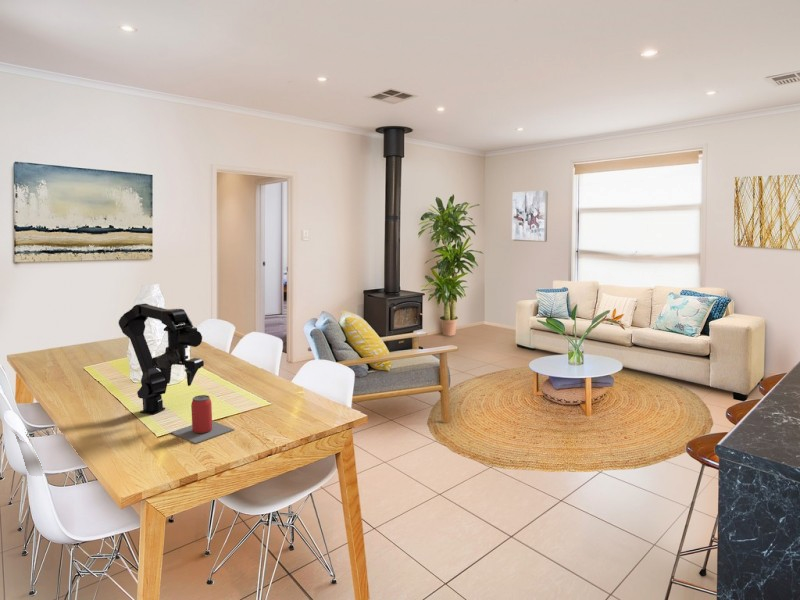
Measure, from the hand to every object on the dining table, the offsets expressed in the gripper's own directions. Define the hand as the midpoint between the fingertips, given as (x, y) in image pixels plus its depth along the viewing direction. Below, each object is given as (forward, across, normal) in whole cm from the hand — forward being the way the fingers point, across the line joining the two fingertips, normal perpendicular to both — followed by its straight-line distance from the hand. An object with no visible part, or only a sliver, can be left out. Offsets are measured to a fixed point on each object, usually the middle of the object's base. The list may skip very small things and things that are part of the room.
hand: (178, 384), depth 191 cm
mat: (+13, +16, -8) cm, 22 cm away
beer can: (+13, +16, -8) cm, 22 cm away
